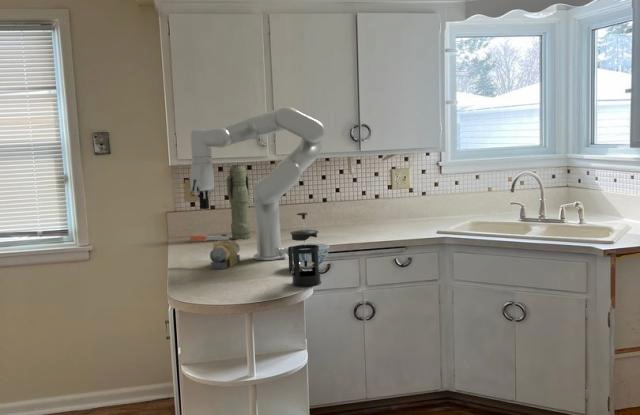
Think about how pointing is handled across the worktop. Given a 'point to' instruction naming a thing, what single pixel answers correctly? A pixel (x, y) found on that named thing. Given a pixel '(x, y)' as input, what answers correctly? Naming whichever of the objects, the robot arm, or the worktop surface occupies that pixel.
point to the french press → (305, 276)
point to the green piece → (239, 201)
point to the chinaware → (321, 254)
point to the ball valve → (224, 254)
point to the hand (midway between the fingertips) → (204, 208)
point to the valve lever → (209, 237)
